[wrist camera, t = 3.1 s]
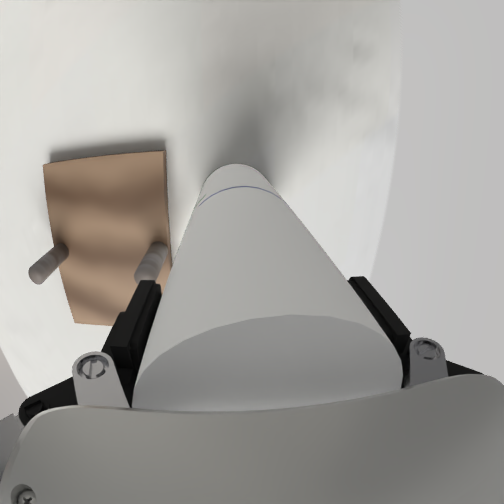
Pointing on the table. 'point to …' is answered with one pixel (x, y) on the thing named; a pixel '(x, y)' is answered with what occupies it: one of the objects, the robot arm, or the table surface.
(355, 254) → the table surface
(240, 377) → the cylindrical container
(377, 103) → the table surface
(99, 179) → the board
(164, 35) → the table surface
